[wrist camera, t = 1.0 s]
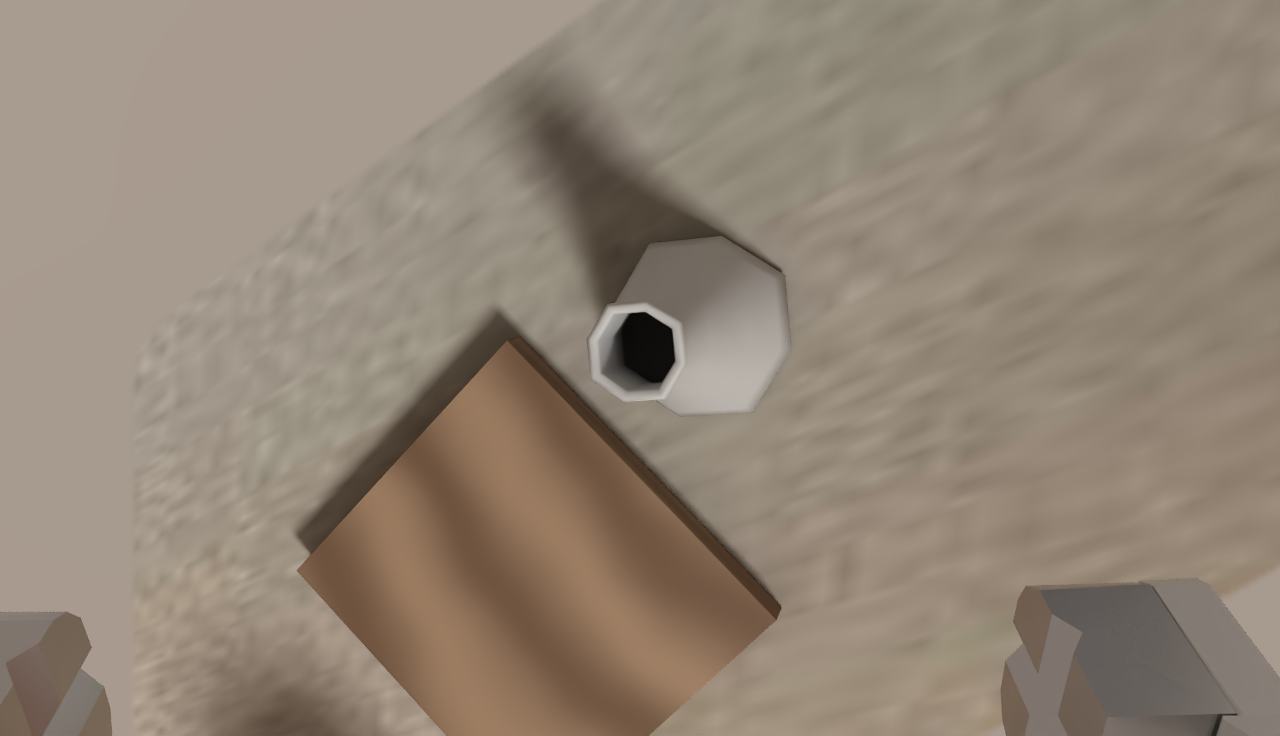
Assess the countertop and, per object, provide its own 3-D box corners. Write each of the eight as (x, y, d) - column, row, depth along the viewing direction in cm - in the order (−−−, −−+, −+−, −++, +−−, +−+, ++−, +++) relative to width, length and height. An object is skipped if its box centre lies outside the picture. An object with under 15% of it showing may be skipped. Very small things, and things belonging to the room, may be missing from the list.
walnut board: (520, 337, 46) (507, 340, 45) (781, 607, 44) (776, 620, 43) (315, 560, 50) (296, 570, 48) (549, 818, 48) (537, 836, 47)
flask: (596, 392, 45) (503, 434, 36) (634, 215, 44) (549, 209, 35) (770, 439, 44) (722, 495, 34) (815, 257, 43) (778, 262, 33)
